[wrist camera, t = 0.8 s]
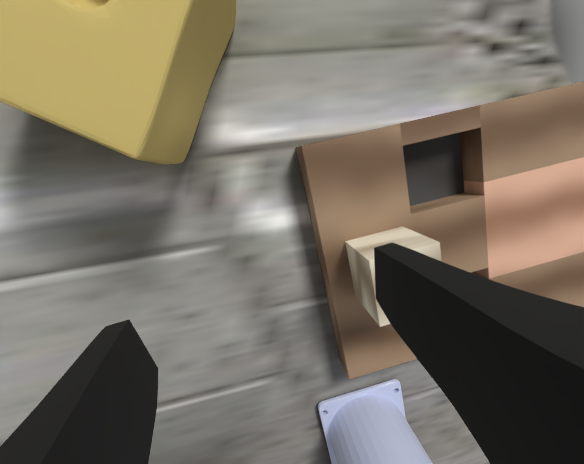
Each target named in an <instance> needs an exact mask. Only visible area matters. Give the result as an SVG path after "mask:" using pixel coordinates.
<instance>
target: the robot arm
mask: <svg viewBox="0 0 584 464" xmlns="http://www.w3.org/2000/svg"><path fill="white" fill-rule="evenodd" d="M374 262H375V291H376V300H377V302H378V303H379V305H380V307H381V309H382V310H383V312H384V314H385V315H386V317H387V319H388V320H389V322H390V323H391V325H392V327H393V328H394V329H395V331H396V332H397V333H398V335H399V336H400V337H401V338H402V340H403V341H404V342H405V344H406V345H407V346H408V347H409V349H410V350H411V351H412V353H413V354H414V355H415V356H416V358H417V359H418V360H419V361H420V363H421V364H422V365H423V367H424V368H425V369H426V370H427V372H428V373H429V374H430V375H431V377H432V378H433V379H434V381H435V382H436V383H437V384H438V386H439V387H440V388H441V389H442V391H443V392H444V394H445V395H446V396H447V398H448V399H449V400H450V402H451V403H452V405H453V406H454V407H455V409H456V410H457V412H458V414H459V415H460V417H461V418H462V420H463V421H464V423H465V424H466V426H467V427H468V429H469V430H470V432H471V434H472V435H473V437H474V438H475V440H476V441H477V443H478V444H479V446H480V448H481V449H482V451H483V452H484V454H485V456H486V457H487V459H488V460H489V462H490V464H584V307H581V306H577V305H573V304H569V303H565V302H561V301H558V300H554V299H551V298H547V297H544V296H540V295H536V294H533V293H529V292H526V291H523V290H520V289H516V288H513V287H510V286H507V285H504V284H501V283H498V282H495V281H492V280H490V279H487V278H484V277H481V276H478V275H475V274H473V273H470V272H467V271H465V270H462V269H459V268H457V267H454V266H452V265H449V264H447V263H444V262H442V261H439V260H437V259H434V258H432V257H429V256H427V255H424V254H422V253H419V252H417V251H414V250H412V249H409V248H407V247H404V246H401V245H399V244H396V243H393V242H392V243H388V244H385V245H382V246H378V247H375V248H374ZM394 389H395V390H394ZM157 394H158V367H157V366H156V364H155V362H154V361H153V359H152V357H151V356H150V354H149V352H148V350H147V349H146V347H145V345H144V344H143V342H142V340H141V339H140V337H139V335H138V334H137V332H136V330H135V328H134V327H133V325H132V323H131V322H130V320H126V321H123V322H119V323H116V324H112V325H109V326H106V327H105V328H104V329H103V330H102V331H101V332H100V333H99V334H98V335H97V336H96V338H95V339H94V340H93V341H92V342H91V343H90V344H89V346H88V347H87V348H86V349H85V350H84V352H83V353H82V354H81V355H80V356H79V357H78V359H77V360H76V361H75V362H74V363H73V365H72V366H71V367H70V368H69V369H68V371H67V372H66V373H65V374H64V375H63V376H62V378H61V379H60V380H59V381H58V382H57V383H56V385H55V386H54V387H53V388H52V389H51V391H50V392H49V393H48V394H47V395H46V396H45V398H44V399H43V400H42V401H41V402H40V403H39V405H38V406H37V407H36V408H35V409H34V410H33V411H32V412H31V413H30V415H29V416H28V417H27V418H26V419H25V420H24V421H23V422H22V423H21V425H20V426H19V427H18V428H17V429H16V430H15V431H14V432H13V433H12V435H11V436H10V437H9V438H8V439H7V440H6V441H5V442H4V443H3V444H2V446H1V447H0V464H148V461H149V454H150V448H151V442H152V436H153V429H154V423H155V416H156V409H157ZM318 410H319V414H320V418H321V422H322V426H323V430H324V434H325V438H326V442H327V447H328V451H329V455H330V459H331V463H332V464H433V463H432V462H431V460H430V458H429V457H428V455H427V453H426V452H425V450H424V449H423V447H422V445H421V444H420V442H419V440H418V439H417V437H416V436H415V434H414V432H413V431H412V429H411V427H410V426H409V424H408V423H407V421H406V418H405V411H404V405H403V398H402V392H401V385H400V382H399V381H398V380H397V379H393V380H389V381H386V382H383V383H380V384H376V385H373V386H370V387H367V388H363V389H360V390H357V391H354V392H350V393H347V394H344V395H341V396H337V397H334V398H331V399H328V400H324V401H321V402H320V403H319V404H318ZM324 410H326V411H325V412H323V411H324Z"/></svg>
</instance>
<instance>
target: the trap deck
mask: <svg viewBox="0 0 584 464" xmlns="http://www.w3.org/2000/svg"><path fill="white" fill-rule="evenodd" d="M296 151H297V156H298V161H299V165H300V170H301V175H302V180H303V184H304V189H305V194H306V199H307V203H308V208H309V213H310V218H311V223H312V227H313V232H314V237H315V242H316V246H317V251H318V256H319V261H320V265H321V270H322V275H323V280H324V284H325V289H326V294H327V299H328V304H329V308H330V313H331V318H332V323H333V327H334V332H335V337H336V342H337V346H338V351H339V356H340V360H341V363H342V365H343V367H344V369H345V371H346V373H347V375H348V377H349V379H352V378H356V377H359V376H362V375H365V374H369V373H372V372H375V371H379V370H382V369H385V368H389V367H392V366H395V365H399V364H402V363H405V362H408V361H412V360H415V359H417V358H416V356H415V355H414V354H413V353H412V351H411V350H410V349H409V347H408V346H407V345H406V344H405V342H404V341H403V340H402V338H401V337H400V336H399V335H398V333H397V332H396V331H395V329H394V328H393V327H392V325H391V324H388V325H385V326H381V327H380V326H379V325H378V324H377V322H376V321H375V320H374V319H373V317H372V316H371V315H370V314H369V312H368V311H367V310H366V309H365V307H364V306H363V305H362V304H361V303H360V301H359V300H358V299H357V298H356V296H355V292H354V287H353V281H352V276H351V270H350V265H349V259H348V254H347V248H346V243H345V241H348V240H352V239H356V238H360V237H364V236H368V235H371V234H375V233H379V232H383V231H387V230H391V229H394V228H398V227H402V226H403V227H405V228H408V229H410V230H412V231H415V232H417V233H419V234H422V235H424V236H427V237H429V238H431V239H434V240H436V241H438V242H440V250H441V260H442V262H444V263H447V264H449V265H452V266H454V267H457V268H459V269H462V270H465V271H467V272H470V273H473V274H475V275H478V276H481V277H484V278H487V279H490V280H492V281H495V282H498V283H501V284H504V285H507V286H510V287H513V288H516V289H520V290H523V291H526V292H529V293H533V294H536V295H540V296H544V297H547V298H551V299H554V300H558V301H561V302H565V303H569V304H573V305H577V306H581V307H584V82H580V83H575V84H571V85H567V86H562V87H558V88H554V89H549V90H545V91H540V92H536V93H532V94H527V95H523V96H519V97H514V98H510V99H505V100H501V101H497V102H492V103H488V104H484V105H479V106H475V107H470V108H466V109H462V110H457V111H453V112H449V113H444V114H440V115H435V116H431V117H427V118H422V119H418V120H414V121H409V122H405V123H401V124H396V125H392V126H387V127H383V128H379V129H374V130H370V131H366V132H361V133H357V134H352V135H348V136H344V137H339V138H335V139H331V140H326V141H322V142H317V143H313V144H309V145H304V146H300V147H296Z"/></svg>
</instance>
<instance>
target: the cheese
mask: <svg viewBox="0 0 584 464" xmlns="http://www.w3.org/2000/svg"><path fill="white" fill-rule="evenodd" d="M235 17H236V0H0V101H1V102H3V103H5V104H8V105H10V106H12V107H15V108H17V109H19V110H22V111H24V112H27V113H29V114H31V115H33V116H36V117H38V118H40V119H43V120H45V121H47V122H50V123H52V124H54V125H57V126H59V127H61V128H64V129H66V130H68V131H71V132H73V133H76V134H78V135H80V136H82V137H85V138H87V139H89V140H92V141H94V142H96V143H99V144H101V145H103V146H106V147H108V148H110V149H113V150H115V151H117V152H119V153H122V154H124V155H126V156H128V157H131V158H133V159H137V160H142V161H147V162H152V163H158V164H179V163H182V162H183V161H184V160H185V158H186V156H187V154H188V151H189V149H190V146H191V143H192V141H193V138H194V134H195V131H196V129H197V126H198V123H199V120H200V117H201V114H202V111H203V108H204V105H205V102H206V98H207V95H208V92H209V90H210V87H211V84H212V81H213V79H214V76H215V74H216V71H217V69H218V66H219V64H220V61H221V59H222V56H223V54H224V52H225V49H226V47H227V44H228V42H229V40H230V37H231V35H232V32H233V30H234V25H235Z"/></svg>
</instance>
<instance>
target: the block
mask: <svg viewBox="0 0 584 464" xmlns="http://www.w3.org/2000/svg"><path fill="white" fill-rule="evenodd" d="M392 242H393V243H396V244H399V245H401V246H404V247H407V248H409V249H412V250H414V251H417V252H419V253H422V254H424V255H427V256H429V257H432V258H434V259H437V260H439V261H442V260H441V250H440V242H438V241H436V240H434V239H431V238H429V237H427V236H424V235H422V234H419V233H417V232H415V231H412V230H410V229H408V228H405V227H403V226H402V227H398V228H394V229H391V230H387V231H383V232H379V233H375V234H371V235H368V236H364V237H360V238H356V239H352V240H348V241H345V243H346V248H347V254H348V259H349V265H350V270H351V276H352V281H353V287H354V292H355V296H356V298H357V299H358V300H359V301H360V303H361V304H362V305H363V306H364V307H365V309H366V310H367V311H368V312H369V314H370V315H371V316H372V317H373V319H374V320H375V321H376V322H377V324H378V325H379V326H380V327H381V326H385V325H388V324H391V323H390V322H389V320H388V319H387V317H386V315H385V314H384V312H383V310H382V309H381V307H380V305H379V303H378V302H377V300H376V291H375V262H374V248H375V247H378V246H382V245H385V244H388V243H392Z"/></svg>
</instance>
